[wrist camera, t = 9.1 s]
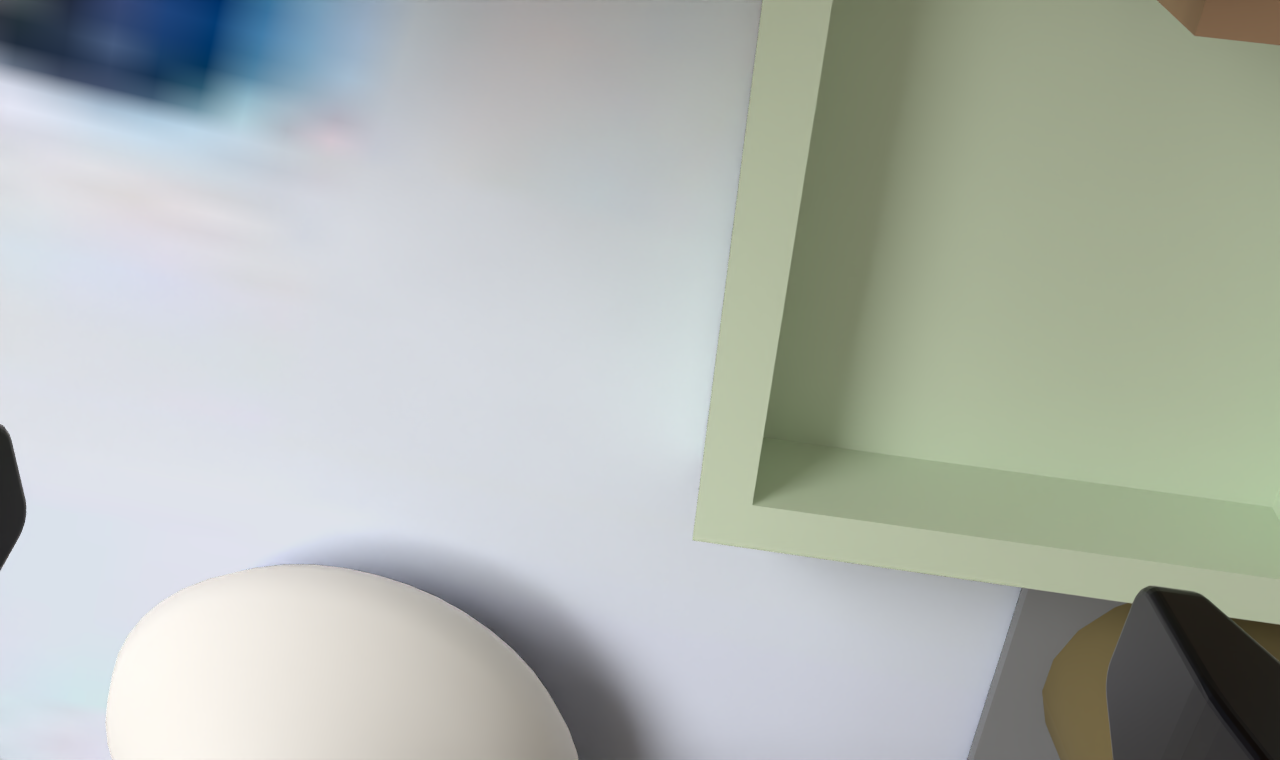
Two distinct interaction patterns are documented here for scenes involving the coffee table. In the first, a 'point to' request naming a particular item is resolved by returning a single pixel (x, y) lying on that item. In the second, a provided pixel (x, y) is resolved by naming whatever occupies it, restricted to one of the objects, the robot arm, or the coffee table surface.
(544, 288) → the coffee table surface
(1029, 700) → the pad
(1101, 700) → the cork
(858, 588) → the coffee table surface
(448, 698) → the flower in vase
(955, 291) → the tray
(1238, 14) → the walnut block
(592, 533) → the coffee table surface
